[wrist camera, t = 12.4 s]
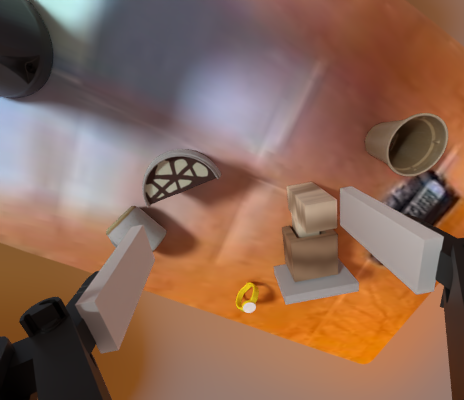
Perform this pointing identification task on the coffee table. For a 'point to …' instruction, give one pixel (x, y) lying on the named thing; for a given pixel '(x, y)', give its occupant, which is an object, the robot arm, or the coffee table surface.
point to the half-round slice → (176, 174)
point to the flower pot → (409, 143)
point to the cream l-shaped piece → (311, 209)
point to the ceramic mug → (135, 218)
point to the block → (311, 254)
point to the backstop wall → (314, 285)
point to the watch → (249, 304)
